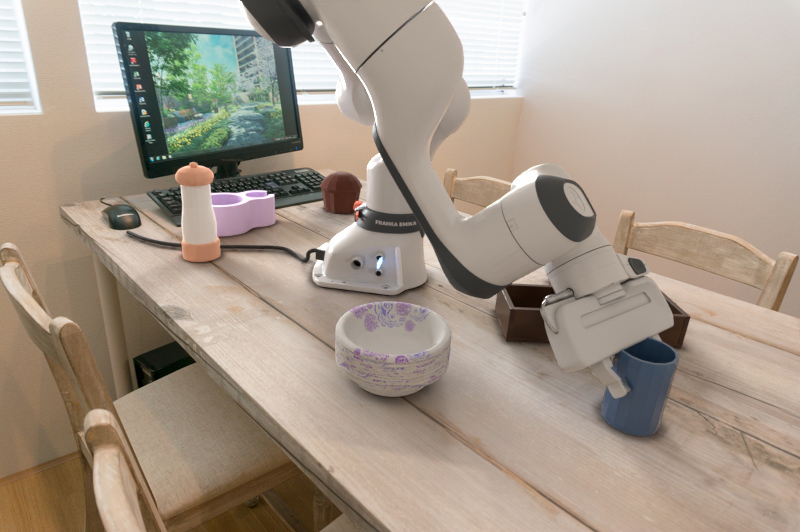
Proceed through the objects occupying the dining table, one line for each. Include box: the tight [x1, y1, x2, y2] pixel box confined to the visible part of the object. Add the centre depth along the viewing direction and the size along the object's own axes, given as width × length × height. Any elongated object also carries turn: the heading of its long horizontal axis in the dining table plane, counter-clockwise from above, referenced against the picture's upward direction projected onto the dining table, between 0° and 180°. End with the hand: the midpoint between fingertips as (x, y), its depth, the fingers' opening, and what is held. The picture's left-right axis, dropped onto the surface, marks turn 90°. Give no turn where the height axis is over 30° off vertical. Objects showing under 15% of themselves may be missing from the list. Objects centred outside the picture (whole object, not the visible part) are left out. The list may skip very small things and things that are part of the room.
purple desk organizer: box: [211, 189, 276, 238], centre depth 126 cm, size 20×12×7 cm, turn 132°
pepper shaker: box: [174, 161, 221, 263], centre depth 105 cm, size 7×7×19 cm
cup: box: [600, 337, 680, 437], centre depth 65 cm, size 7×7×10 cm
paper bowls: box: [334, 300, 453, 398], centre depth 70 cm, size 15×15×8 cm
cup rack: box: [494, 282, 691, 349], centre depth 87 cm, size 28×10×6 cm, turn 91°
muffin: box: [319, 170, 363, 215], centre depth 144 cm, size 12×11×10 cm
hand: (643, 384), depth 64 cm, fingers open, 7 cm apart
